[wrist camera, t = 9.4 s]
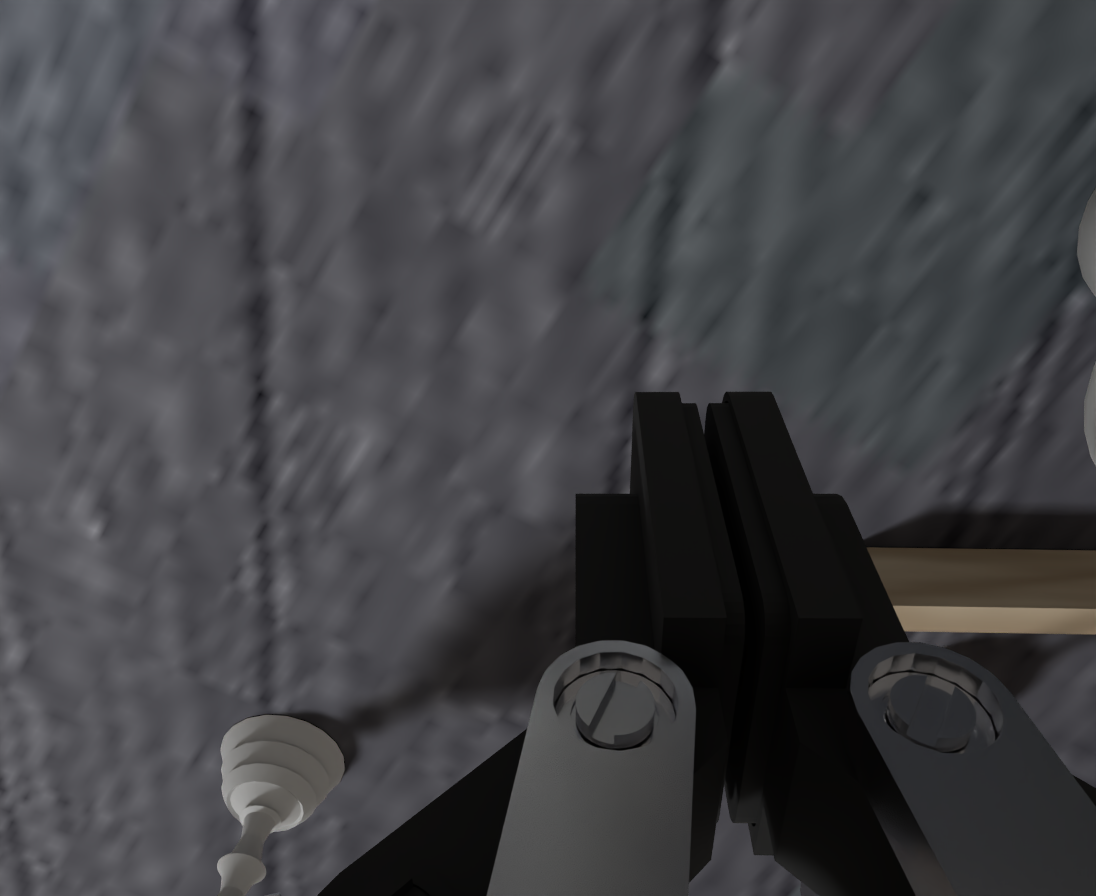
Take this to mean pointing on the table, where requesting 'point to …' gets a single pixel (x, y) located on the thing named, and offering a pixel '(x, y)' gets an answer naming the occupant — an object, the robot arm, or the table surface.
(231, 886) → the chalice
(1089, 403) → the cup
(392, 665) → the table surface
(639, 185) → the table surface
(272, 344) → the table surface
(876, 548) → the wooden u-shaped frame
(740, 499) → the robot arm
